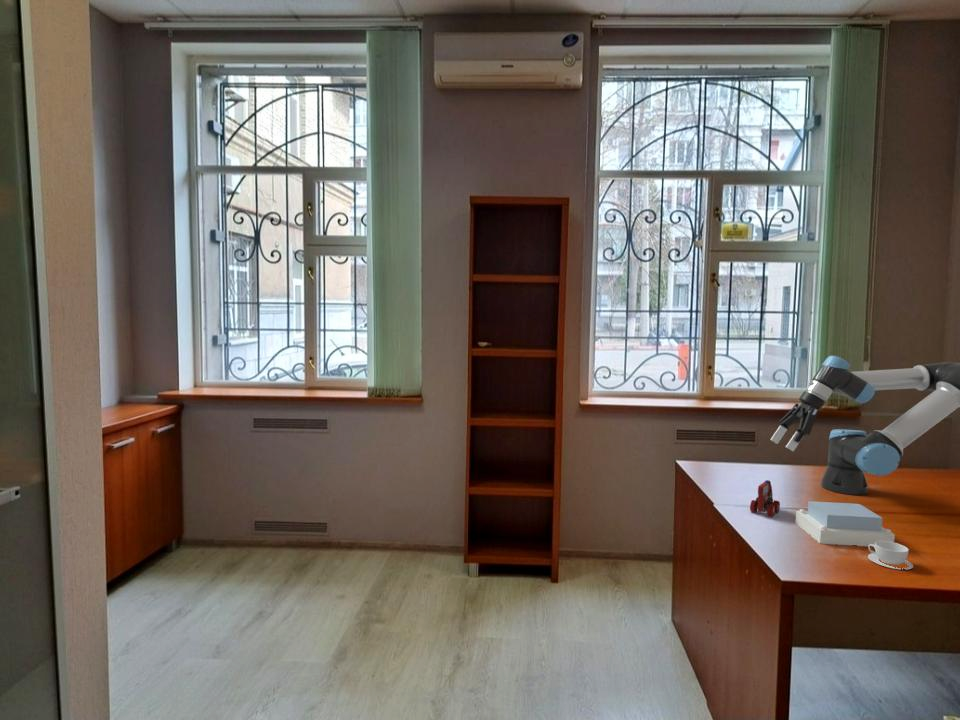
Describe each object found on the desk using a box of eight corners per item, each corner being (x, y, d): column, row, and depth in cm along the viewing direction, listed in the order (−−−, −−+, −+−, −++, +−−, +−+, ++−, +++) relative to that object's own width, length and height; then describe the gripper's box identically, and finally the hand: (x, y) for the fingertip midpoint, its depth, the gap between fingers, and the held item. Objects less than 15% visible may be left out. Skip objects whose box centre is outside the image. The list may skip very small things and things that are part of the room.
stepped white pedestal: (862, 526, 177) (864, 502, 176) (893, 547, 161) (895, 521, 160) (795, 523, 179) (797, 498, 178) (819, 543, 163) (821, 516, 163)
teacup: (914, 562, 152) (916, 546, 152) (911, 575, 145) (912, 557, 144) (870, 551, 159) (871, 535, 158) (864, 563, 151) (866, 546, 151)
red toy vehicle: (781, 510, 191) (783, 480, 190) (770, 519, 182) (772, 488, 181) (759, 505, 196) (761, 476, 195) (747, 514, 187) (749, 483, 186)
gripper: (790, 387, 213) (759, 433, 215) (822, 393, 188) (786, 446, 190) (808, 397, 212) (776, 444, 214) (842, 405, 188) (806, 458, 190)
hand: (781, 445), depth 202 cm, fingers open, 13 cm apart
